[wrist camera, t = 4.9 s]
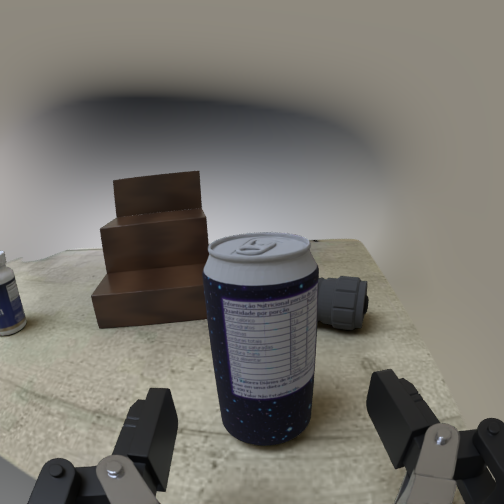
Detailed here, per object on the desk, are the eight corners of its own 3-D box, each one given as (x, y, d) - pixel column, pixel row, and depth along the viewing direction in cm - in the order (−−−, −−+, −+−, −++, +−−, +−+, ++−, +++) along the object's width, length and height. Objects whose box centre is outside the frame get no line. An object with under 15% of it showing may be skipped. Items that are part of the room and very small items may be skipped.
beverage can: (320, 405, 19) (330, 233, 16) (291, 464, 14) (296, 264, 11) (247, 388, 22) (236, 229, 19) (206, 436, 17) (175, 253, 14)
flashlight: (367, 316, 31) (372, 269, 30) (362, 341, 27) (368, 288, 25) (240, 300, 38) (237, 257, 36) (218, 319, 33) (213, 272, 32)
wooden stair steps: (206, 267, 52) (199, 170, 47) (219, 317, 34) (207, 167, 29) (125, 276, 49) (113, 180, 45) (98, 328, 31) (73, 184, 27)
